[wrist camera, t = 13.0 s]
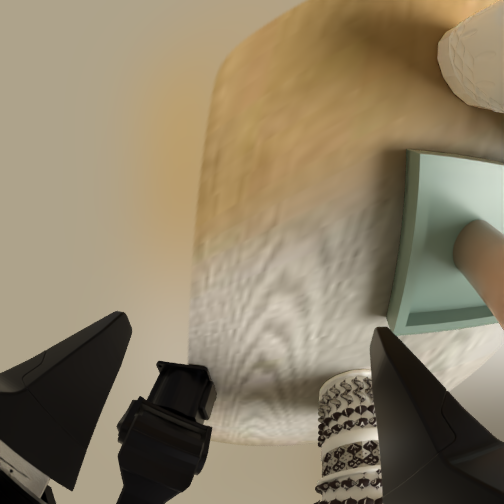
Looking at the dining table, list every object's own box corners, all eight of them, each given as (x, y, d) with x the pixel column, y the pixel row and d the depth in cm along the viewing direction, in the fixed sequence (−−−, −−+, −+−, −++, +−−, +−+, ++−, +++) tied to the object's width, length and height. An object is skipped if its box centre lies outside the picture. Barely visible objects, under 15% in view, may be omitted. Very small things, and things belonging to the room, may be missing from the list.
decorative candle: (300, 400, 31) (277, 594, 9) (347, 357, 27) (349, 603, 4) (357, 416, 31) (357, 585, 9) (405, 378, 27) (431, 576, 5)
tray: (386, 317, 24) (392, 336, 22) (406, 149, 17) (420, 153, 15) (501, 305, 21) (511, 320, 19) (533, 169, 15) (550, 176, 12)
